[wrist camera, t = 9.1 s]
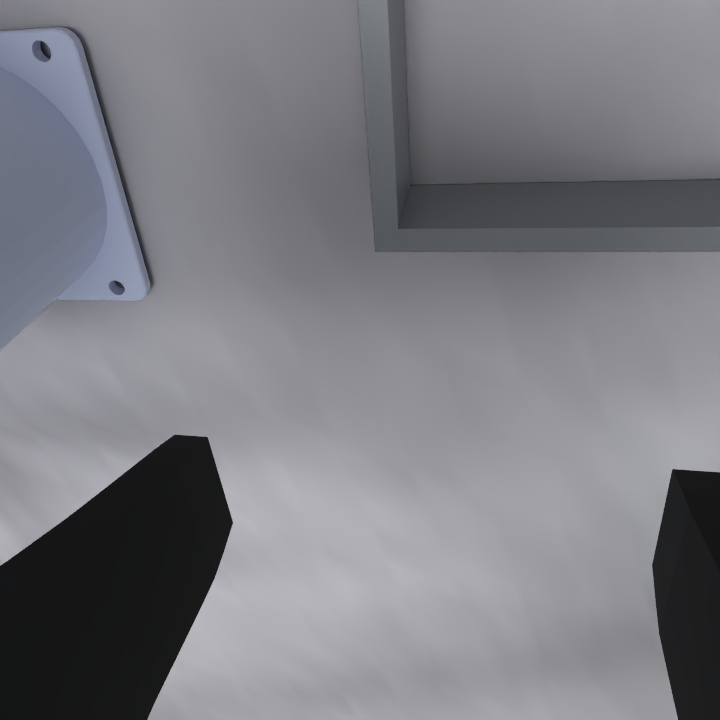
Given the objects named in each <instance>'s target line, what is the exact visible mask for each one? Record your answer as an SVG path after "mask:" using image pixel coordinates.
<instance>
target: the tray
mask: <svg viewBox="0 0 720 720" xmlns="http://www.w3.org/2000/svg"><path fill="white" fill-rule="evenodd" d="M358 10H359V25H360V39H361V53H362V68H363V82H364V97H365V111H366V126H367V140H368V154H369V169H370V183H371V198H372V212H373V227H374V241H375V252H720V180H669V181H613V182H557V183H501V184H445V185H410V157H409V128H408V99H407V71H406V42H405V13H404V0H358Z"/></svg>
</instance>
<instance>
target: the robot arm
mask: <svg viewBox="0 0 720 720" xmlns="http://www.w3.org/2000/svg"><path fill="white" fill-rule="evenodd" d="M41 41H43V42H44V43H46V44H47V45H48V47H49V48H50V50H51V58H50V59H49V58H47V57H46V56H45V55H44V54H43V53H42V51H41V48H40V43H41ZM115 281H119V282H120V283H121V284H122V285H123V286H124V289H121V288H119V287H118V286H117V285H116V283H115ZM149 291H150V281H149V277H148V274H147V270H146V267H145V263H144V260H143V256H142V253H141V249H140V246H139V242H138V239H137V235H136V232H135V228H134V225H133V221H132V218H131V214H130V210H129V207H128V203H127V200H126V196H125V193H124V189H123V186H122V182H121V179H120V175H119V172H118V168H117V165H116V161H115V158H114V154H113V151H112V147H111V144H110V140H109V137H108V133H107V130H106V126H105V123H104V119H103V116H102V112H101V109H100V105H99V102H98V98H97V95H96V91H95V87H94V84H93V80H92V77H91V73H90V70H89V66H88V63H87V59H86V56H85V52H84V49H83V46H82V44H81V42H80V39H79V38H78V37H77V36H76V35H75V33H74V32H72V31H70V30H69V29H67V28H62V27H53V28H37V29H22V30H7V31H0V350H1V349H3V348H4V347H5V346H6V345H7V344H8V343H9V342H10V341H11V340H12V339H13V338H14V337H16V336H17V335H18V334H19V333H20V332H21V331H22V330H23V329H24V328H25V327H26V326H27V325H28V324H30V323H31V322H32V321H33V320H34V319H35V318H36V317H37V316H38V315H39V314H40V313H41V312H42V311H44V310H45V309H46V308H47V307H48V306H49V305H50V304H51V303H52V302H53V301H54V300H110V301H138V300H142V299H143V298H144V297H145V296H146V295H147V294H148V293H149ZM232 524H233V521H232V518H231V515H230V511H229V508H228V504H227V501H226V498H225V494H224V491H223V488H222V484H221V481H220V477H219V474H218V471H217V467H216V464H215V461H214V457H213V454H212V450H211V447H210V444H209V440H208V437H199V436H184V435H174V436H173V437H171V438H170V439H168V440H167V441H166V442H164V443H163V444H161V445H160V446H159V447H157V448H156V449H155V450H154V451H152V452H151V453H150V454H148V455H147V456H146V457H144V458H143V459H142V460H141V461H139V462H138V463H137V464H136V465H134V466H133V467H132V468H131V469H129V470H128V471H127V472H125V473H124V474H123V475H122V476H120V477H119V478H118V479H117V480H115V481H114V482H113V483H112V484H110V485H109V486H108V487H106V488H105V489H104V490H103V491H101V492H100V493H99V494H97V495H96V496H95V497H94V498H92V499H91V500H90V501H88V502H87V503H86V504H85V505H83V506H82V507H81V508H79V509H78V510H77V511H76V512H74V513H73V514H72V515H70V516H69V517H68V518H66V519H65V520H64V521H62V522H61V523H60V524H58V525H57V526H55V527H54V528H53V529H51V530H50V531H49V532H47V533H46V534H44V535H43V536H42V537H40V538H39V539H37V540H36V541H35V542H33V543H32V544H30V545H29V546H28V547H26V548H25V549H24V550H22V551H21V552H19V553H18V554H17V555H15V556H14V557H12V558H11V559H10V560H8V561H7V562H5V563H4V564H2V565H1V566H0V720H147V719H148V716H149V714H150V712H151V710H152V707H153V705H154V703H155V701H156V699H157V697H158V694H159V692H160V690H161V688H162V686H163V684H164V682H165V680H166V678H167V676H168V674H169V672H170V670H171V668H172V666H173V664H174V662H175V660H176V658H177V655H178V653H179V651H180V649H181V647H182V645H183V643H184V641H185V639H186V637H187V635H188V633H189V631H190V629H191V627H192V625H193V623H194V621H195V618H196V616H197V614H198V612H199V610H200V608H201V606H202V604H203V602H204V600H205V597H206V595H207V593H208V591H209V589H210V587H211V585H212V582H213V580H214V578H215V575H216V572H217V570H218V567H219V564H220V561H221V558H222V555H223V552H224V549H225V546H226V543H227V540H228V536H229V533H230V530H231V527H232ZM652 566H653V577H654V588H655V598H656V608H657V617H658V626H659V634H660V639H661V644H662V648H663V653H664V658H665V662H666V667H667V671H668V676H669V680H670V685H671V689H672V694H673V698H674V703H675V707H676V712H677V716H678V720H720V473H719V472H704V471H690V470H675V469H673V470H672V474H671V479H670V484H669V488H668V493H667V498H666V503H665V507H664V512H663V517H662V522H661V526H660V531H659V536H658V541H657V545H656V550H655V555H654V560H653V564H652Z"/></svg>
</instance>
